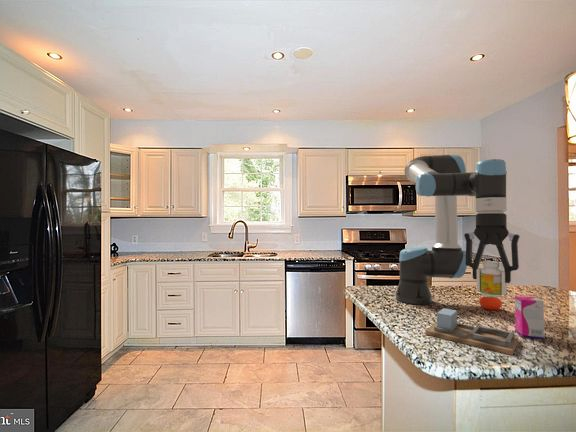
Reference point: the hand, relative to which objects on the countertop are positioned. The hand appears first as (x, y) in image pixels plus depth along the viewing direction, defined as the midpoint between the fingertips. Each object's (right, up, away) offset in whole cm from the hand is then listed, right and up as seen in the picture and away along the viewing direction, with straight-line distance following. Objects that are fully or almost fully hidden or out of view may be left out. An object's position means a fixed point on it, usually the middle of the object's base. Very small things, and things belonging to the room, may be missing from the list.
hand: (491, 292), depth 89 cm
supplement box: (+16, -15, +6) cm, 22 cm away
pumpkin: (+22, -16, +34) cm, 43 cm away
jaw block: (-9, -13, +8) cm, 18 cm away
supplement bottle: (0, -1, 0) cm, 1 cm away
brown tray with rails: (-4, -15, +3) cm, 16 cm away
